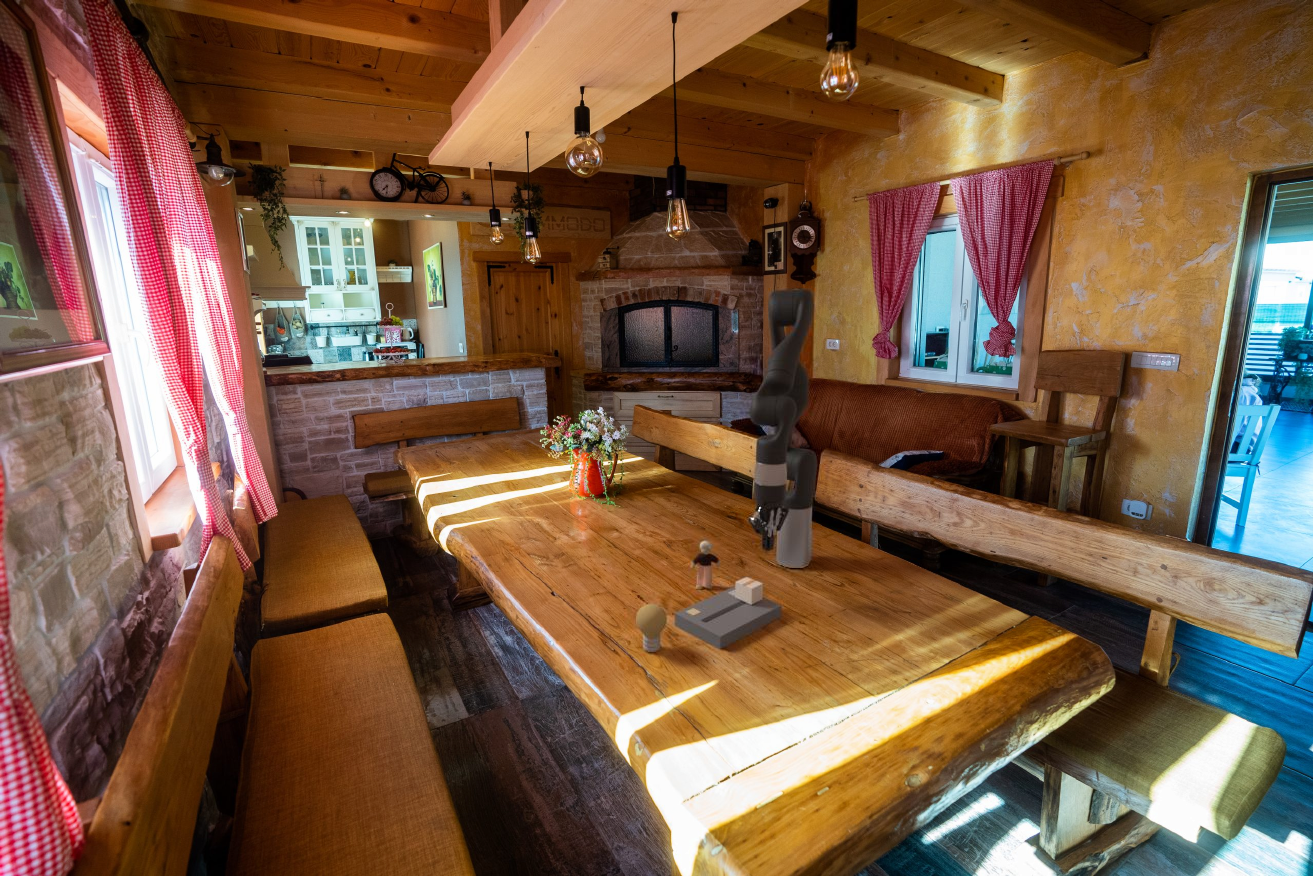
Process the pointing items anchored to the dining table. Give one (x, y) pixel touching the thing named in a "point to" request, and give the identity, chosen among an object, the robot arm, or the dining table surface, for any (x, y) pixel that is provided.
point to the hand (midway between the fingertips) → (767, 549)
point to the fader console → (726, 618)
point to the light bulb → (651, 625)
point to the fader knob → (748, 590)
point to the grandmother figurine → (705, 566)
